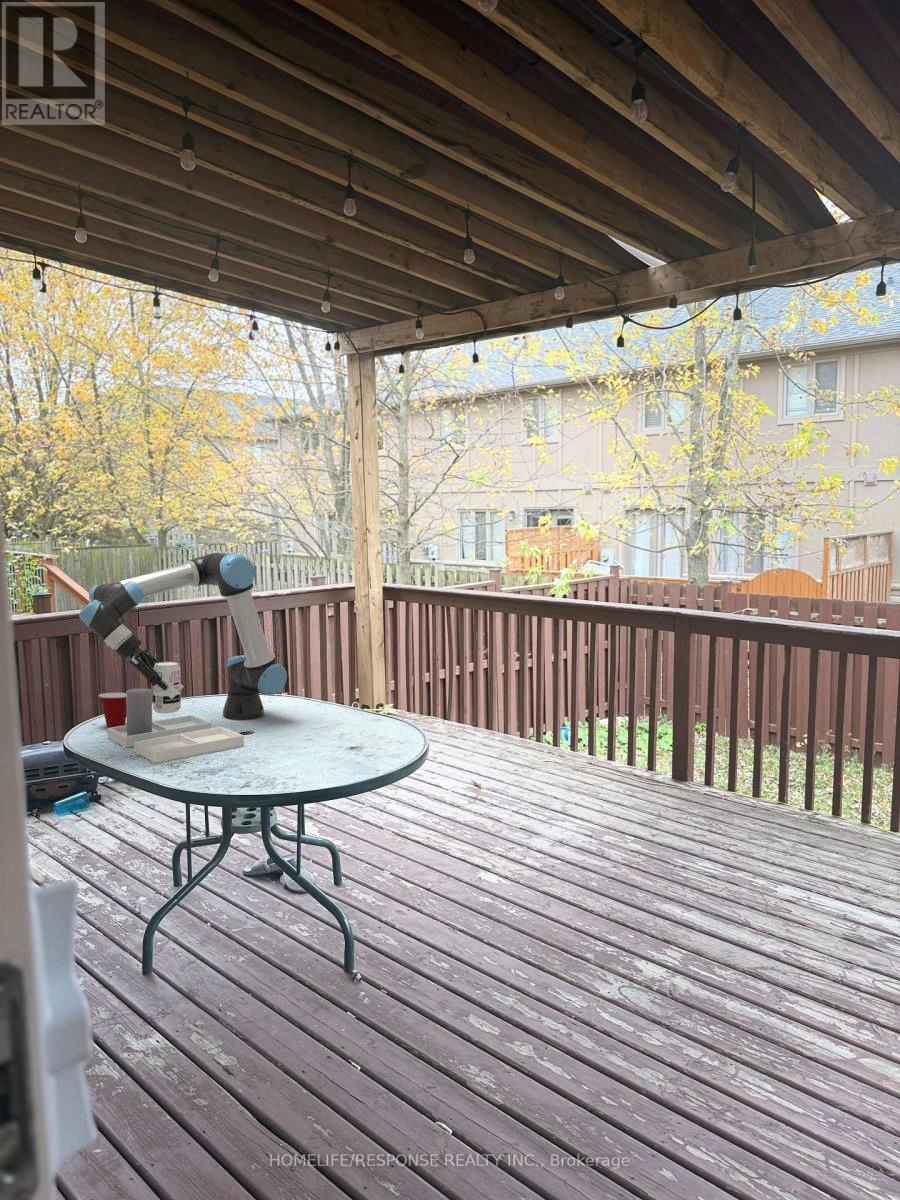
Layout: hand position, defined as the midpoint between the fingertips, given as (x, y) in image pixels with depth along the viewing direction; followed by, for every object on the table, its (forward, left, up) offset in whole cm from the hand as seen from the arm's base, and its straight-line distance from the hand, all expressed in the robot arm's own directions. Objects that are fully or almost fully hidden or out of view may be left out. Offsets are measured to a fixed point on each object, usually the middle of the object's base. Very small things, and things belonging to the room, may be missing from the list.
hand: (177, 692), depth 251 cm
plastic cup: (+2, -45, -20) cm, 49 cm away
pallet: (-5, -2, -19) cm, 20 cm away
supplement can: (+3, -2, -6) cm, 7 cm away
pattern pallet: (-5, -24, -19) cm, 31 cm away
